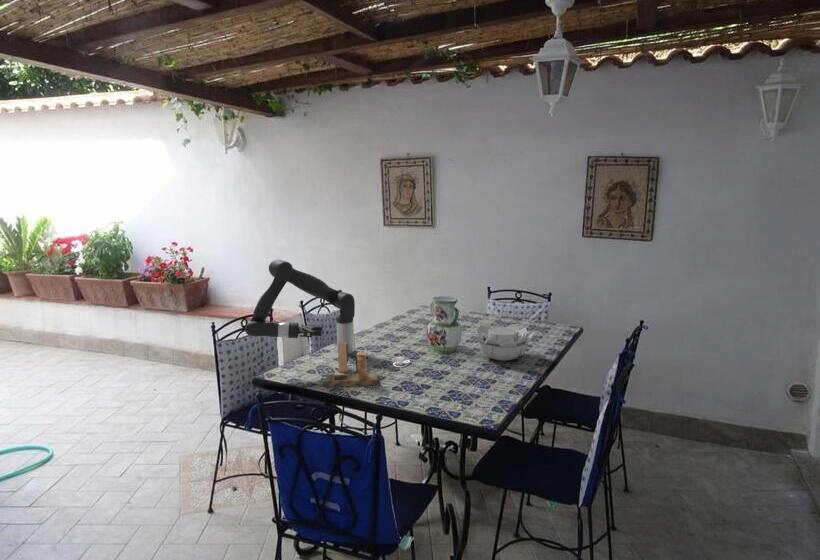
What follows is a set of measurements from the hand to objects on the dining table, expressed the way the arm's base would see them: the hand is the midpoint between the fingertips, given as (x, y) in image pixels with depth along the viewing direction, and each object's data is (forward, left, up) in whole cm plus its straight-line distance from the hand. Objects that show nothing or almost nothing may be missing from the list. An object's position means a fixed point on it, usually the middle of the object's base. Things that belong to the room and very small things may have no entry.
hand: (322, 331), depth 255 cm
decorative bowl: (-62, +70, -21) cm, 96 cm away
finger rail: (+5, +22, -20) cm, 30 cm away
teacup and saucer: (-26, +31, -21) cm, 46 cm away
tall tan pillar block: (-6, +8, -20) cm, 23 cm away
